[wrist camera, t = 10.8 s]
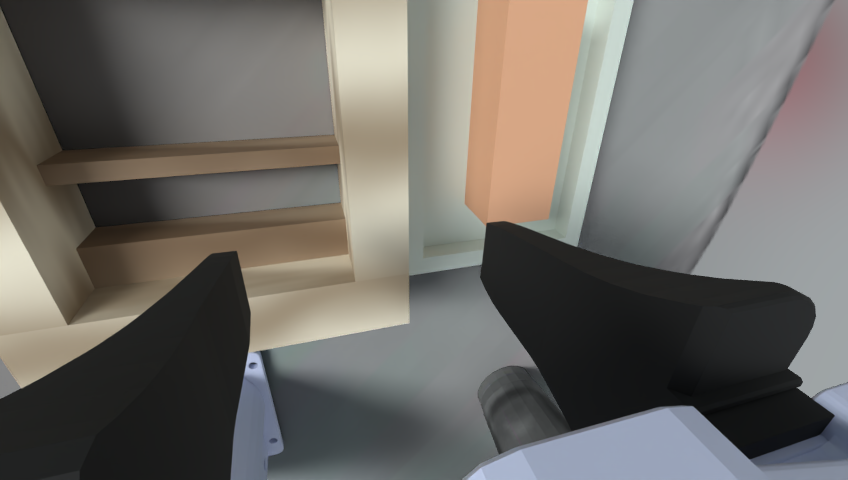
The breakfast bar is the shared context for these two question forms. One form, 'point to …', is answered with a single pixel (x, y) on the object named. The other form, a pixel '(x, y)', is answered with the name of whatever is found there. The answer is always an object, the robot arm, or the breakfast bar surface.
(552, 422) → the beverage cup
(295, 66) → the breakfast bar surface
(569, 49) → the slab
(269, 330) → the block
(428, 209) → the tray
